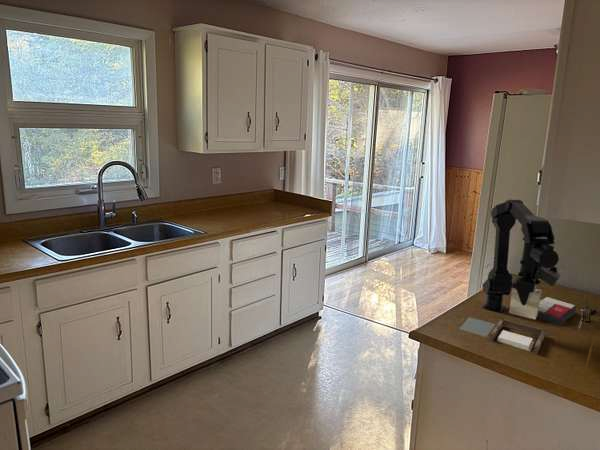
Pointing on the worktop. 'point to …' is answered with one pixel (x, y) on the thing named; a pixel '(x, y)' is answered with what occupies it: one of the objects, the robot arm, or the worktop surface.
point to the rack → (522, 328)
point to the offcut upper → (515, 339)
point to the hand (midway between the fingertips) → (524, 302)
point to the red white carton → (555, 311)
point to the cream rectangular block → (531, 305)
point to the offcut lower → (530, 347)
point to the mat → (477, 326)
